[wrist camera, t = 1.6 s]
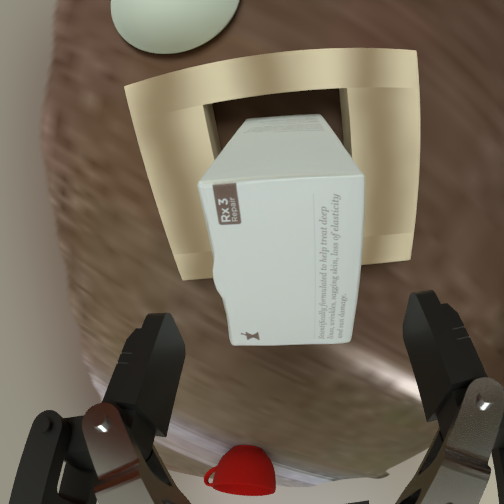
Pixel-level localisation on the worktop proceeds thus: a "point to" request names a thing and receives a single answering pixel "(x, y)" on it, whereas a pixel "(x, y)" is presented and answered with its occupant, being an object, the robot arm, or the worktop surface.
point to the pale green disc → (171, 22)
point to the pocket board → (278, 81)
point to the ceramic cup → (244, 472)
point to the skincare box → (286, 231)
